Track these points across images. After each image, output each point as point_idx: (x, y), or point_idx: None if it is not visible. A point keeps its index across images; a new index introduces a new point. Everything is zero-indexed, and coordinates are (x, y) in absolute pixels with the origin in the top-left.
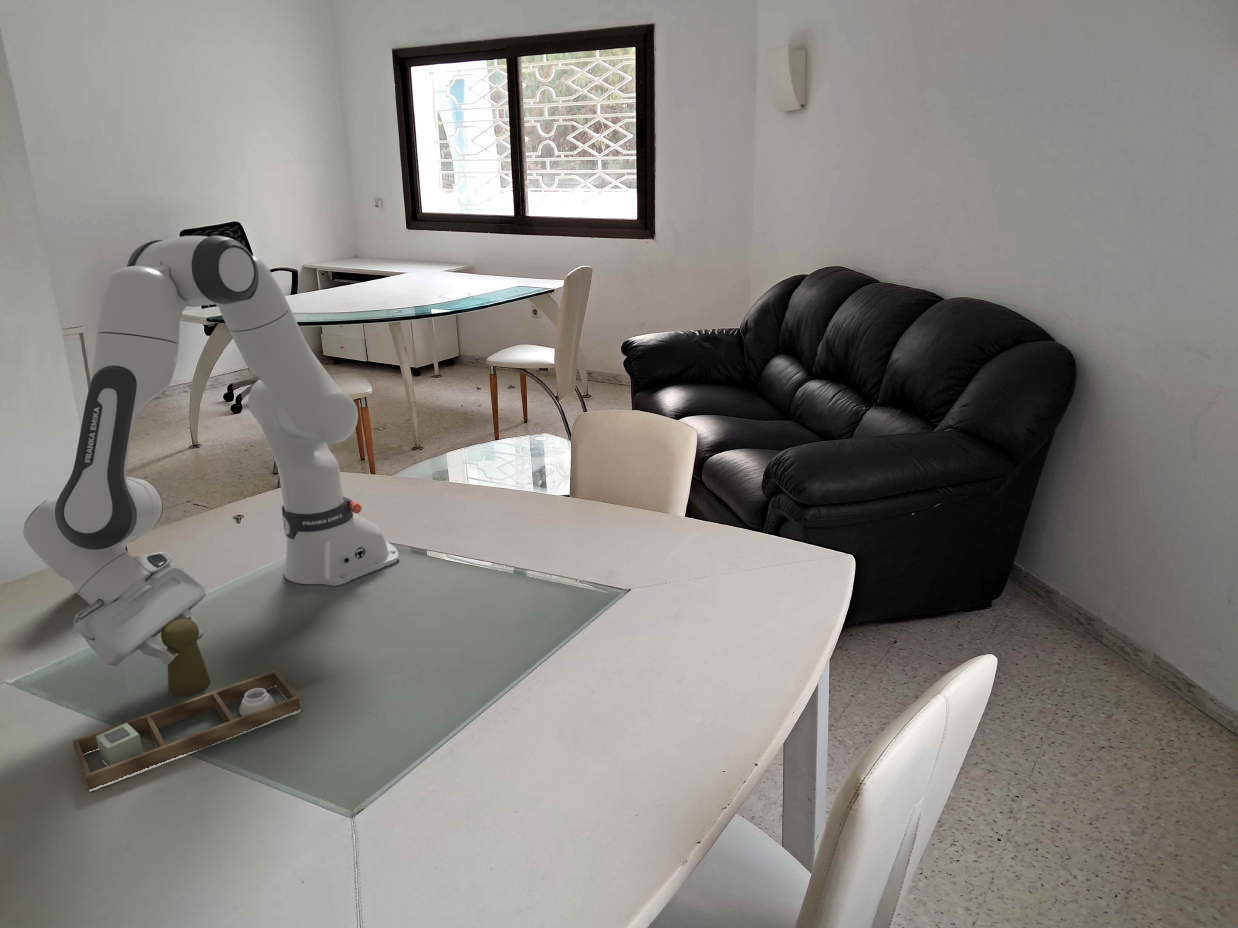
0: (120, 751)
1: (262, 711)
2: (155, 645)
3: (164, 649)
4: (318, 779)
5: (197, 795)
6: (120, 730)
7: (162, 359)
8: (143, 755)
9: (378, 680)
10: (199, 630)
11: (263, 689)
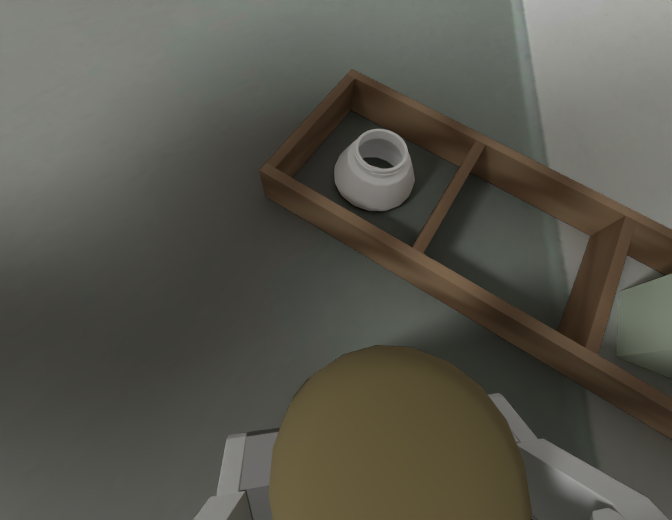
0: None
1: (425, 106)
2: (607, 491)
3: (534, 445)
4: (482, 9)
5: (611, 128)
6: None
7: None
8: None
9: (204, 32)
10: (236, 456)
11: (359, 141)
